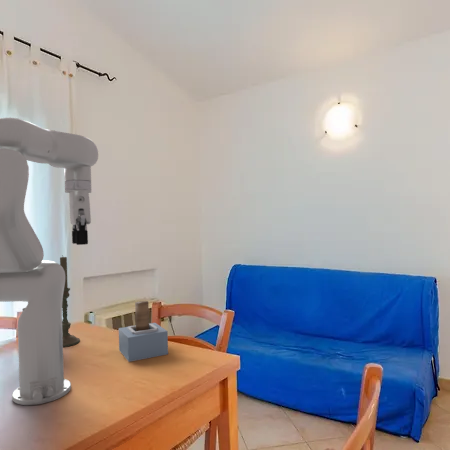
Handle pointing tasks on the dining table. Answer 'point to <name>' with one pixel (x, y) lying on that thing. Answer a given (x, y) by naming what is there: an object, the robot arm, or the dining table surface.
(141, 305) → the walnut dowel
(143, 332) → the square peg hole block
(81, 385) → the dining table surface
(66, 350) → the dining table surface
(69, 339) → the candlestick holder
